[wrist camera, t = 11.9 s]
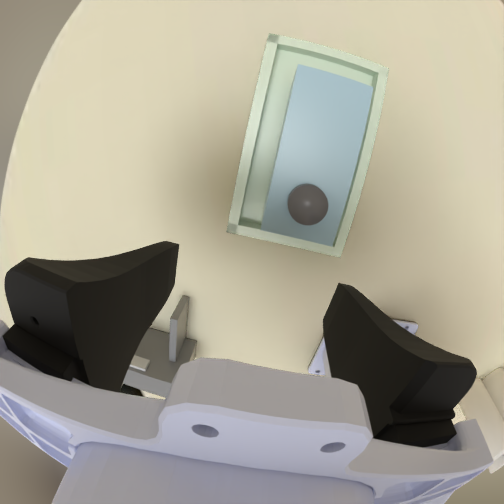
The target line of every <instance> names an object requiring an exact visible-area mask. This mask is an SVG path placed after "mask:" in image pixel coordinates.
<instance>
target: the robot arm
mask: <svg viewBox="0 0 504 504" xmlns="http://www.w3.org/2000/svg"><path fill="white" fill-rule="evenodd" d="M178 250H179V244H176V243H172V242H168V241H163V242H159V243H156V244H153V245H149V246H146V247H143V248H140V249H137V250H133V251H130V252H126V253H122V254H119V255H114V256H110V257H104V258H98V259H88V260H75V261H61V260H46V259H37V258H29V257H28V258H26V259H25V260H23V261H21V262H20V263H18V264H17V265H15V266H14V267H13V268H11V269H10V270H9V271H8V272H7V273H6V277H5V292H6V297H7V301H8V304H9V308H10V311H11V314H12V318H13V321H14V323H15V324H14V325H13V326H12V327H11V328H10V329H9V327H8V326H7V325H6V323H5V322H3V321H2V320H1V319H0V416H1V417H2V418H4V419H5V420H6V421H7V422H8V423H9V424H10V425H12V426H13V427H14V428H15V429H16V430H17V431H19V432H20V433H21V434H22V435H23V436H25V437H26V438H27V439H28V440H30V441H31V442H32V443H33V444H35V445H36V446H38V447H39V448H40V449H41V450H43V451H44V452H46V453H47V454H48V455H50V456H51V457H53V458H54V459H56V460H57V461H59V462H60V463H62V464H63V465H65V466H67V467H68V469H67V471H66V473H65V475H64V477H63V479H62V482H61V484H60V486H59V488H58V490H57V493H56V495H55V497H54V499H53V502H52V504H444V503H445V502H446V501H447V500H448V498H449V497H450V496H451V494H452V493H453V492H454V491H455V490H456V489H458V488H459V487H461V486H463V485H464V484H465V483H467V482H468V481H470V480H472V479H473V478H474V477H476V476H477V475H479V474H480V473H481V472H483V471H484V470H485V469H487V468H488V467H489V466H491V465H492V464H493V462H494V461H493V458H492V455H491V453H490V450H489V448H488V445H487V443H486V441H485V438H484V436H483V434H482V431H481V429H480V427H479V425H478V422H477V420H476V419H470V420H465V421H461V422H458V423H456V424H455V425H453V423H452V420H451V419H453V418H454V417H455V413H454V410H453V408H454V407H455V406H456V405H457V404H458V403H459V402H460V401H461V399H462V398H463V397H464V396H465V395H466V394H467V393H468V391H469V390H470V389H471V387H472V386H473V384H474V382H475V379H476V375H477V371H476V368H475V367H474V365H473V363H472V362H471V361H470V360H469V359H467V358H464V357H461V356H458V355H455V354H452V353H449V352H447V351H445V350H442V349H440V348H438V347H436V346H434V345H431V344H429V343H427V342H426V341H424V340H422V339H420V338H419V337H417V336H416V335H415V333H416V331H417V329H418V325H417V324H416V323H413V322H406V321H400V320H393V319H391V318H390V317H388V316H387V315H386V314H385V313H383V312H382V311H381V310H380V309H379V308H378V307H376V306H375V305H374V304H373V303H372V302H371V301H370V300H369V299H367V298H366V297H365V296H364V295H363V294H362V293H360V292H359V291H358V290H357V289H355V288H354V287H352V286H350V285H346V284H341V283H338V286H337V288H336V291H335V293H334V295H333V298H332V300H331V303H330V305H329V307H328V309H327V312H326V314H325V316H324V318H323V331H324V337H323V339H322V341H321V343H320V345H319V347H318V349H317V351H316V354H315V356H314V358H313V360H312V362H311V364H310V366H309V368H308V372H309V373H311V374H317V375H325V377H322V376H315V375H308V374H301V373H295V372H289V371H283V370H277V369H272V368H267V367H261V366H256V365H252V364H247V363H242V362H238V361H233V360H229V359H216V358H198V359H196V360H193V361H190V362H187V363H184V364H182V365H181V366H180V368H179V369H178V371H177V373H176V375H175V377H174V378H173V381H172V384H171V386H170V389H169V391H168V394H167V396H166V399H165V400H163V399H155V398H148V397H141V396H135V395H129V394H123V393H119V392H120V389H121V386H122V384H123V381H124V378H125V376H126V373H127V371H128V368H129V366H130V364H131V361H132V359H133V357H134V355H135V352H136V350H137V348H138V346H139V344H140V342H141V340H142V338H143V337H144V335H145V333H146V332H147V330H148V329H149V327H150V326H151V324H152V322H153V321H154V319H155V318H156V316H157V315H158V313H159V312H160V310H161V309H162V307H163V306H164V304H165V303H166V301H167V299H168V297H169V295H170V293H171V291H172V289H173V287H174V284H175V276H176V267H177V258H178ZM405 326H407V327H405Z"/></svg>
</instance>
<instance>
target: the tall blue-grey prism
mask: <svg viewBox="0 0 504 504" xmlns="http://www.w3.org/2000/svg"><path fill="white" fill-rule="evenodd" d="M373 88H374V87H372V86H369V85H366V84H364V83H361V82H358V81H355V80H352V79H349V78H346V77H343V76H340V75H337V74H333V73H330V72H327V71H323V70H320V69H316V68H312V67H308V66H304V65H300V64H298V66H297V69H296V72H295V75H294V79H293V82H292V85H291V89H290V94H289V98H288V103H287V107H286V112H285V116H284V120H283V125H282V129H281V134H280V138H279V143H278V147H277V151H276V156H275V160H274V165H273V169H272V174H271V178H270V182H269V187H268V191H267V196H266V200H265V204H264V210H263V217H262V223H261V229H260V230H262V231H267V232H271V233H276V234H280V235H284V236H289V237H293V238H297V239H302V240H306V241H310V242H314V243H319V244H323V245H327V246H331V247H332V245H333V242H334V239H335V236H336V233H337V230H338V227H339V223H340V220H341V217H342V214H343V210H344V207H345V203H346V200H347V197H348V193H349V190H350V186H351V182H352V179H353V175H354V171H355V167H356V164H357V160H358V156H359V152H360V148H361V143H362V139H363V135H364V131H365V126H366V122H367V117H368V113H369V108H370V103H371V98H372V93H373Z"/></svg>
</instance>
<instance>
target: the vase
mask: <svg viewBox="0 0 504 504" xmlns="http://www.w3.org/2000/svg"><path fill="white" fill-rule="evenodd" d="M459 405H460V407H461V409H462V411H463V413H464V416H465V418H466V420H470V419H476V420H477V422H478V425H479V427H480V429H481V431H482V434H483V436H484V438H485V441H486V443H487V445H488V448H489V450H490V453H491V455H492V458H493V461H494V462H493V464H492V465H491V466H489V467H488V468H489V471H490V473H493V472H495V471H496V470H498V469H499V468H500V467H502V466H503V465H504V369H503V368H498V369H496V370H494V371H492V372H491V373H490V374H489V375H487V376H486V377H485V378H484V379H483V380H482V381H481V379H480V378H476V379H475V382H474V384H473V386H472V387H471V389H470V390H469V391H468V393H467V394H466V395H465V396H464V397H463V398H462V399H461V401H460V402H459Z"/></svg>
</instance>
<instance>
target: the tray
mask: <svg viewBox="0 0 504 504" xmlns="http://www.w3.org/2000/svg"><path fill="white" fill-rule="evenodd" d="M298 64H300V65H304V66H308V67H312V68H316V69H320V70H323V71H327V72H330V73H333V74H337V75H340V76H343V77H346V78H349V79H352V80H355V81H358V82H361V83H364V84H366V85H369V86H372V87H374V88H373V93H372V98H371V103H370V108H369V113H368V117H367V122H366V126H365V131H364V135H363V139H362V143H361V148H360V152H359V156H358V160H357V164H356V167H355V171H354V175H353V179H352V182H351V186H350V190H349V193H348V197H347V200H346V203H345V207H344V210H343V214H342V217H341V220H340V223H339V227H338V230H337V233H336V236H335V239H334V242H333V245H332V247H331V246H327V245H323V244H319V243H314V242H310V241H306V240H302V239H297V238H293V237H289V236H284V235H280V234H276V233H271V232H267V231H262V230H260V229H261V223H262V217H263V210H264V204H265V200H266V196H267V191H268V187H269V182H270V178H271V174H272V169H273V165H274V160H275V156H276V151H277V147H278V143H279V138H280V134H281V129H282V125H283V120H284V116H285V112H286V107H287V103H288V98H289V94H290V89H291V85H292V82H293V79H294V75H295V72H296V69H297V66H298ZM388 72H389V68H387V67H384V66H382V65H380V64H377V63H375V62H372V61H369V60H367V59H364V58H361V57H358V56H356V55H353V54H350V53H347V52H344V51H341V50H337V49H334V48H331V47H327V46H324V45H320V44H316V43H312V42H308V41H304V40H300V39H295V38H291V37H286V36H281V35H275V34H270V33H269V36H268V40H267V44H266V48H265V52H264V56H263V60H262V64H261V69H260V73H259V77H258V81H257V86H256V90H255V94H254V99H253V103H252V108H251V112H250V117H249V122H248V126H247V131H246V135H245V140H244V145H243V150H242V155H241V159H240V164H239V169H238V174H237V179H236V184H235V189H234V195H233V200H232V205H231V210H230V215H229V221H228V226H227V232H228V233H233V234H237V235H242V236H247V237H251V238H256V239H260V240H265V241H269V242H274V243H278V244H282V245H287V246H291V247H296V248H300V249H304V250H309V251H313V252H318V253H322V254H326V255H330V256H335V257H339V258H340V257H341V255H342V252H343V249H344V246H345V243H346V240H347V237H348V234H349V231H350V228H351V225H352V221H353V218H354V215H355V212H356V208H357V205H358V202H359V198H360V195H361V191H362V188H363V184H364V181H365V177H366V173H367V170H368V166H369V162H370V158H371V154H372V150H373V146H374V142H375V138H376V133H377V129H378V124H379V120H380V115H381V110H382V105H383V100H384V95H385V89H386V84H387V78H388Z"/></svg>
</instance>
